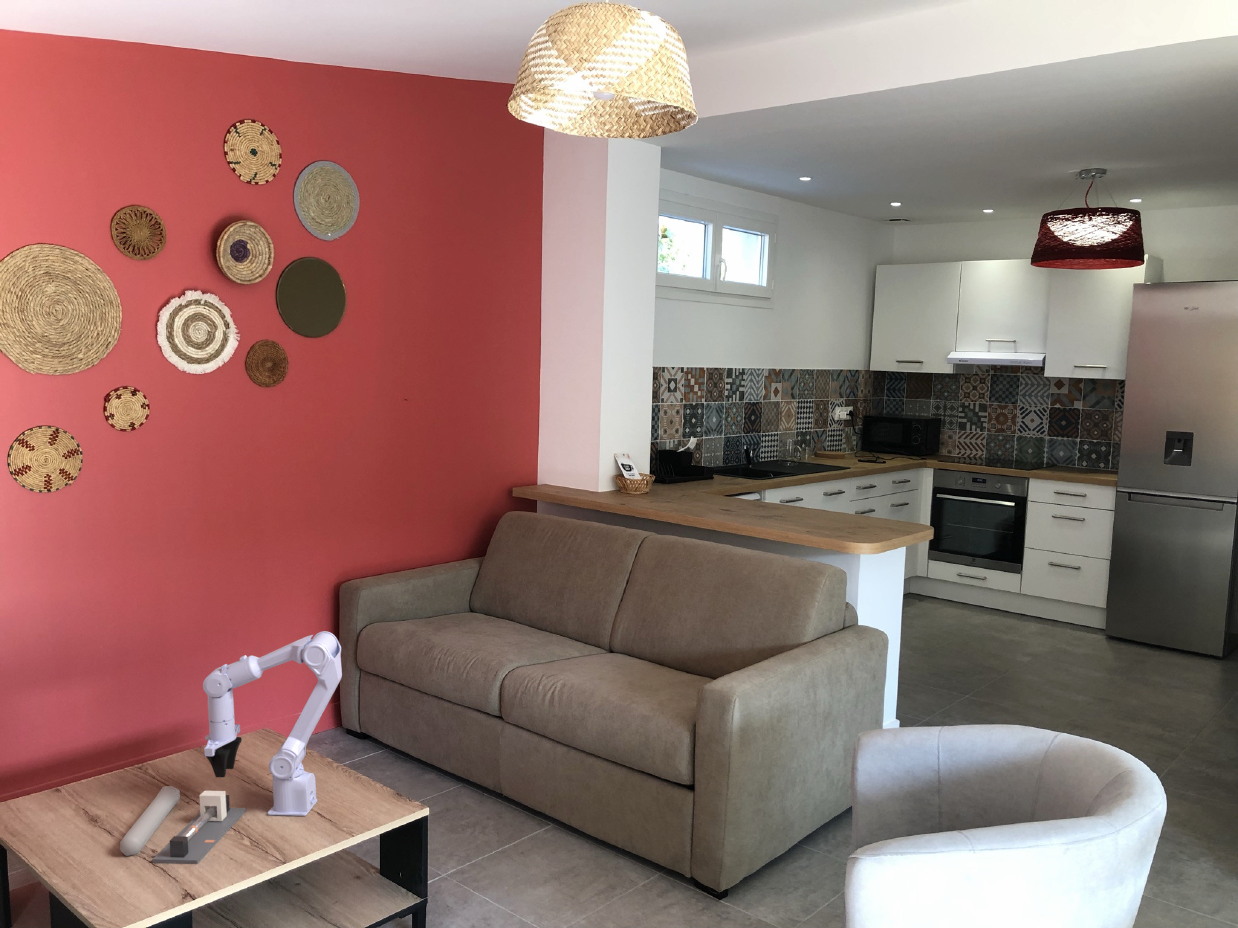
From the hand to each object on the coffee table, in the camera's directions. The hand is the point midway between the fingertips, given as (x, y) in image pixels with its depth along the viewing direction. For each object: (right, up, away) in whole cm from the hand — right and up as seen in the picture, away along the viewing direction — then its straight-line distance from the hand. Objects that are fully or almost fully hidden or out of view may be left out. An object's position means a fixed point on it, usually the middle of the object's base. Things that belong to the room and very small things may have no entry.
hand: (224, 772), depth 234 cm
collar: (0, -9, -5) cm, 11 cm away
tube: (-14, -11, -8) cm, 20 cm away
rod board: (-1, -11, -11) cm, 16 cm away
